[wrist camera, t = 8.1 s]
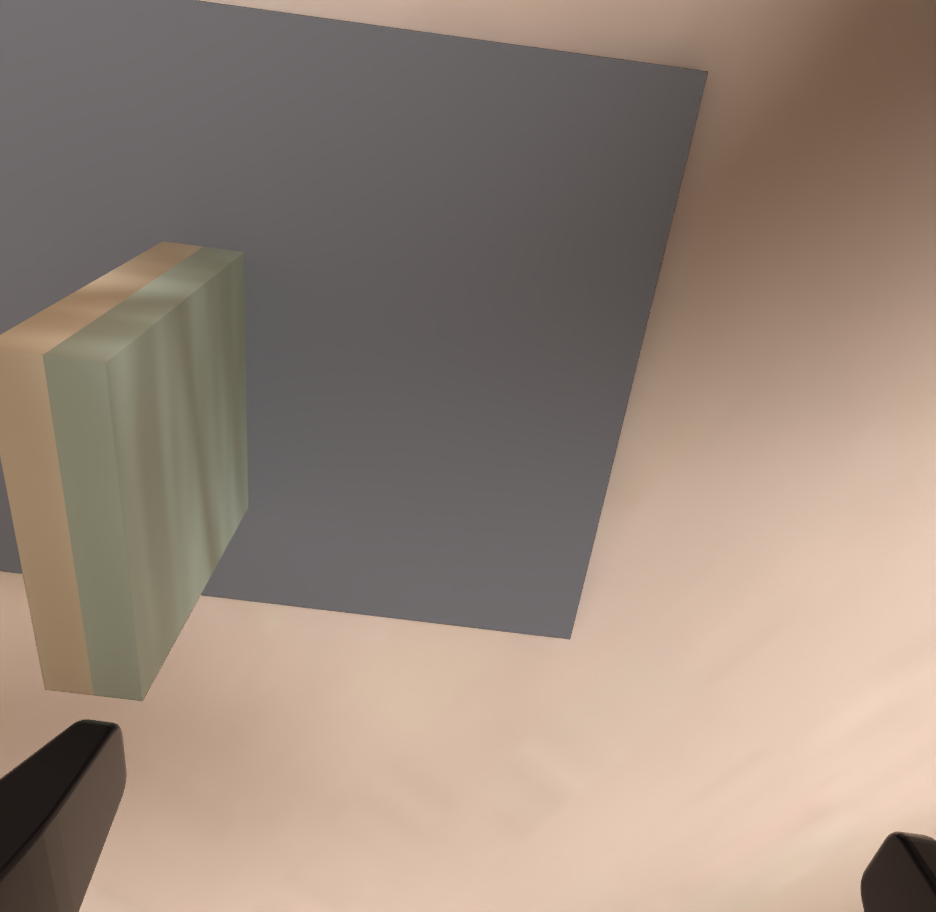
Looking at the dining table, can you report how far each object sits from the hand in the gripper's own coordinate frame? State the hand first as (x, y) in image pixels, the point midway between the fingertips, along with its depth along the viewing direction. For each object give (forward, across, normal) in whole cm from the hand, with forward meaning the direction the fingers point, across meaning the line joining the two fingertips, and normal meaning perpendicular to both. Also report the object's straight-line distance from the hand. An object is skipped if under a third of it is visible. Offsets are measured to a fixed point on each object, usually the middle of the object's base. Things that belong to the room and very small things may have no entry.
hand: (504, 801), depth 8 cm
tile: (+9, +6, 0) cm, 11 cm away
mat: (+10, +6, -1) cm, 11 cm away
